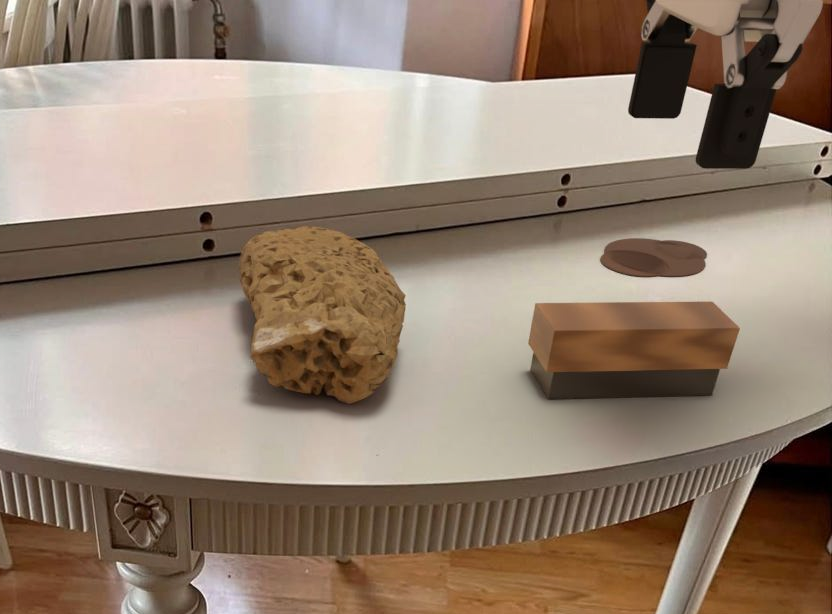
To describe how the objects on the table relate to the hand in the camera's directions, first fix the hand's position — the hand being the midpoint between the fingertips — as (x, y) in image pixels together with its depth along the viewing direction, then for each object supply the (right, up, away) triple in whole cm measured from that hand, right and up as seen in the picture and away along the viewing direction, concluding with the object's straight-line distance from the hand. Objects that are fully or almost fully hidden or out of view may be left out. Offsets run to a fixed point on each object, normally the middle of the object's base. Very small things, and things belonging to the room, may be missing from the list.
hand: (686, 140), depth 57 cm
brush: (0, -11, +14) cm, 17 cm away
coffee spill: (+8, +5, +33) cm, 34 cm away
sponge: (-22, -8, +16) cm, 28 cm away
